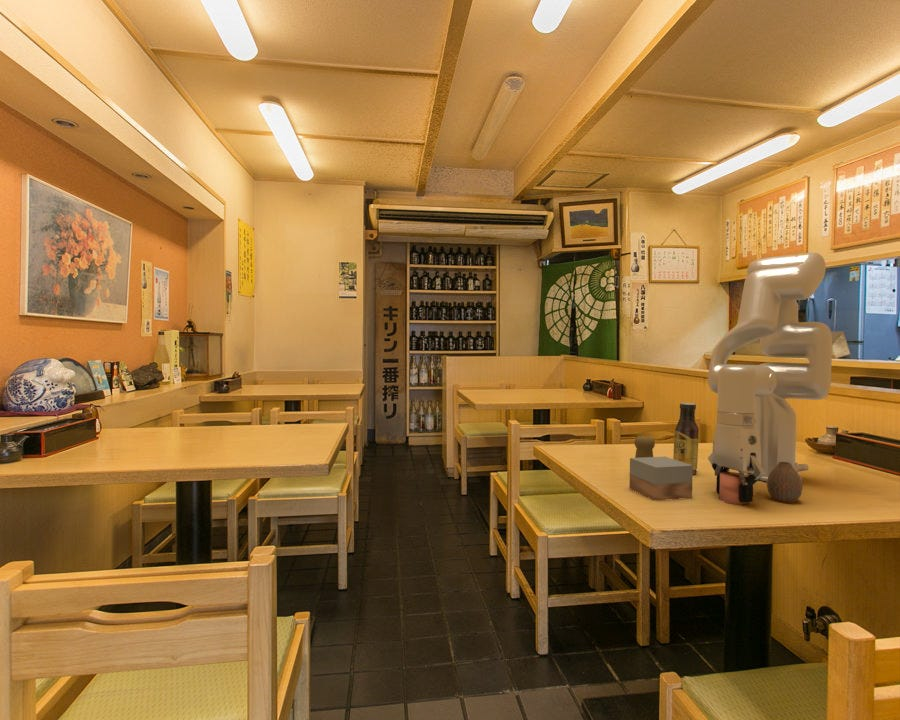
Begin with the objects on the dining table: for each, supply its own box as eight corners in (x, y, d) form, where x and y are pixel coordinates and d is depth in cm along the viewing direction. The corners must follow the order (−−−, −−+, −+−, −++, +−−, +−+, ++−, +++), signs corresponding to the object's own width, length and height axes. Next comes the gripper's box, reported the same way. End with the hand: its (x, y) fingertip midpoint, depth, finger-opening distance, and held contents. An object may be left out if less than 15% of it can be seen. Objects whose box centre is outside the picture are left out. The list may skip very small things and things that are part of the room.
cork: (657, 480, 134) (658, 439, 133) (634, 478, 135) (634, 437, 135) (653, 474, 139) (654, 435, 139) (630, 473, 141) (631, 434, 140)
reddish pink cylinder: (734, 496, 119) (735, 471, 119) (755, 503, 113) (756, 477, 113) (713, 497, 118) (713, 472, 118) (733, 505, 112) (733, 478, 112)
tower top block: (664, 472, 127) (664, 456, 127) (692, 482, 117) (692, 465, 117) (629, 474, 125) (630, 458, 125) (655, 484, 115) (655, 467, 115)
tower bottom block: (664, 488, 127) (664, 472, 127) (692, 499, 117) (692, 482, 117) (629, 490, 125) (629, 474, 125) (654, 502, 115) (654, 484, 115)
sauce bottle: (668, 470, 144) (669, 401, 144) (689, 470, 145) (690, 401, 145) (681, 476, 138) (682, 404, 137) (702, 475, 138) (704, 404, 138)
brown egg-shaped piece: (803, 506, 112) (804, 467, 111) (766, 501, 115) (767, 463, 115) (801, 498, 117) (802, 461, 117) (766, 494, 121) (767, 458, 121)
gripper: (781, 424, 108) (780, 508, 108) (720, 414, 124) (719, 486, 125) (753, 425, 106) (751, 510, 106) (695, 415, 123) (693, 488, 123)
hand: (734, 496), depth 115 cm, fingers closed on reddish pink cylinder, 6 cm apart
